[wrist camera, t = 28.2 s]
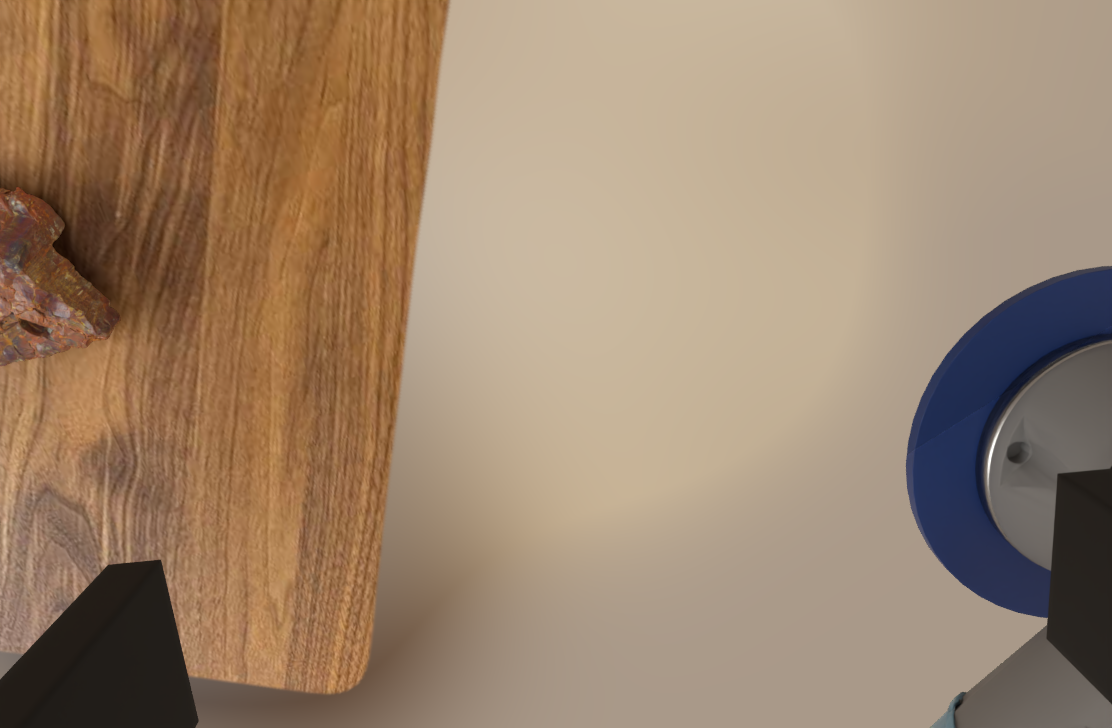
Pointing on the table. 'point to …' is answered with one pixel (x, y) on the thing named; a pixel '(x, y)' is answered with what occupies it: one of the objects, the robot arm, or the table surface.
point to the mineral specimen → (43, 286)
